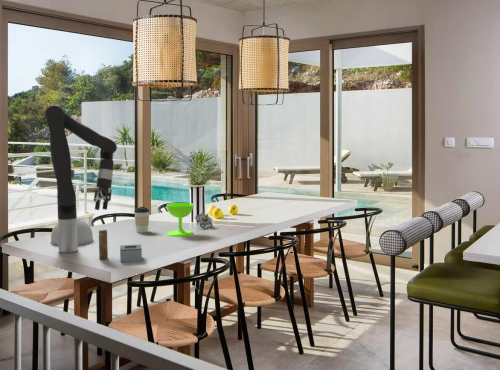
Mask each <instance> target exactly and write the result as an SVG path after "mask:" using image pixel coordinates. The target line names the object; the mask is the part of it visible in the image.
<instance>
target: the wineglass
mask: <svg viewBox="0 0 500 370" xmlns="http://www.w3.org/2000/svg"><path fill="white" fill-rule="evenodd" d="M166 208H167V211H168V213H169V214H170V215H171V216H173V217H174V218H177V219H178V228H177V229H176V230H171V231H168V232H167V233H166V235H167V236H169V237H172V238H174V237H175V238H183V237H191V236H193V234H195V233H194V232H193V231H192V230H186V229H184V228H183V218H186V217H188V216H189V215H190V214H191V213H192V211H193V209H194V203H192V202H172V203H171V202H170V203H167V204H166Z"/></svg>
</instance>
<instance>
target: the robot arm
mask: <svg viewBox="0 0 500 370" xmlns="http://www.w3.org/2000/svg"><path fill="white" fill-rule="evenodd" d="M44 116H45V119H46V122H47V126H48V131H49V148H50V150H49V151H50V157H51V163H52V167H53V171H54V175H55V179H56V180H55V181H56V187H57V188H56V190H57V193H56V194H57V195H56V199H57V200H56V201H57V223H58V232H59V234H58V245H57V246H58V253H64V254H65V253H74V252H77V251H79V250H78V248H79V245H78V243H77V217H78V215H77V194H76V191H75V188H74V184H73V179H72V158H71V153H70V147H69V142H68V138H67V134H66V130H67V131H69V132H71V133H72V134H74V135H75V136H76V137H78V138H79V139H80V140H83V141H84V142H86V143H87V144H89V145H91V146H93V147H97V148H99V149H100V150H99V151H100V153H99V156H100V157H99V159H100V160H99V161H100V162H99V165H98V167H99V168H98V171H97V177H96V178H97V179H96V185H95V186H96V188H98V189H95V190H94V196H93V202H94V203H95V205H94V210H96V211H99V210H100V206H101V201H103V202H102V210H108V205H109V204H108V203H109V202H110V201H111V200H112V191H113V190H112V189H111V188H112V185H113V176H114V174H113V173H114V172H113V171H114V165H115V164H114V163H115V162H114V160H113V159H114V153H115V152H116V151H117V150H118V146H117V143H116V142H115V141H114V140H112V139H110V138H108V137H106V136H104V135H102V134H100V133H98V132H96V131H95V130H94V129H92V128H90V127H89V126H86V125H85V124H83V123H81V122H79V121H78V120H75V119H74V118H73V117H71V116H69V114H67V113H66V112H65V110H64V109H63V108H62V107H61V106H60V105H57V104H51V105H50V106H47V108H46V109H45V112H44Z"/></svg>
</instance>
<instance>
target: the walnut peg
mask: <svg viewBox="0 0 500 370" xmlns="http://www.w3.org/2000/svg"><path fill="white" fill-rule="evenodd" d="M98 248H99V249H98V253H99V254H98V255H99V257H98V259H99V260H103V261H104V260H108V259H109V257H108V256H109V249H108V230H107V229H99V230H98Z"/></svg>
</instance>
